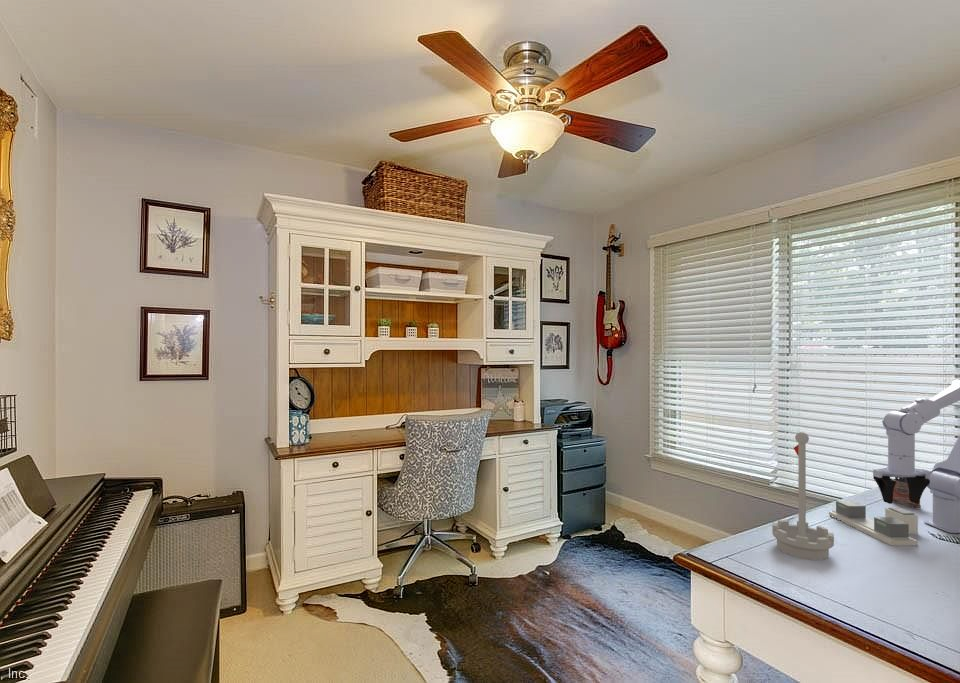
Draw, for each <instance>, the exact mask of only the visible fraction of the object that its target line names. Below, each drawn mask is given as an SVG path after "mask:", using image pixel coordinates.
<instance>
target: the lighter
mask: <svg viewBox="0 0 960 683" xmlns="http://www.w3.org/2000/svg"><path fill="white" fill-rule="evenodd" d="M891 480H894V481H896V484H895V487H894V491H893V501H892V504H896V505H899V506H903V507H907V508H912V509H915V510H916V509H917V510H918V509H922V505H921V500H920V501H919V504H916V503H913V502H910V499H909V487H908V483H907V479H906V477H894V478H891Z"/></svg>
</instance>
